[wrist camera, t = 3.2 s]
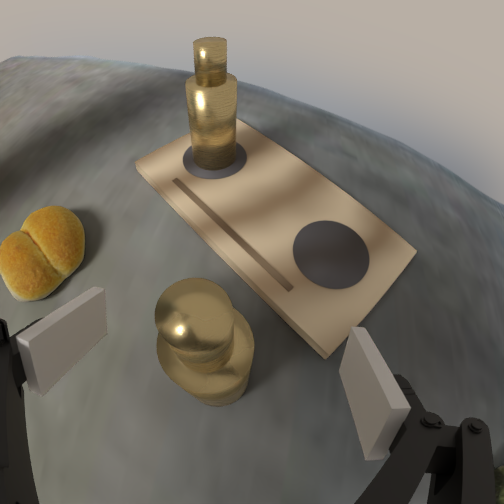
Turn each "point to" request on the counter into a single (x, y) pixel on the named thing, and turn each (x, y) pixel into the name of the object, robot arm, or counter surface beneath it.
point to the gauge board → (284, 233)
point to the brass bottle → (204, 341)
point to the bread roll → (42, 253)
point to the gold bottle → (212, 106)
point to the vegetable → (499, 484)
